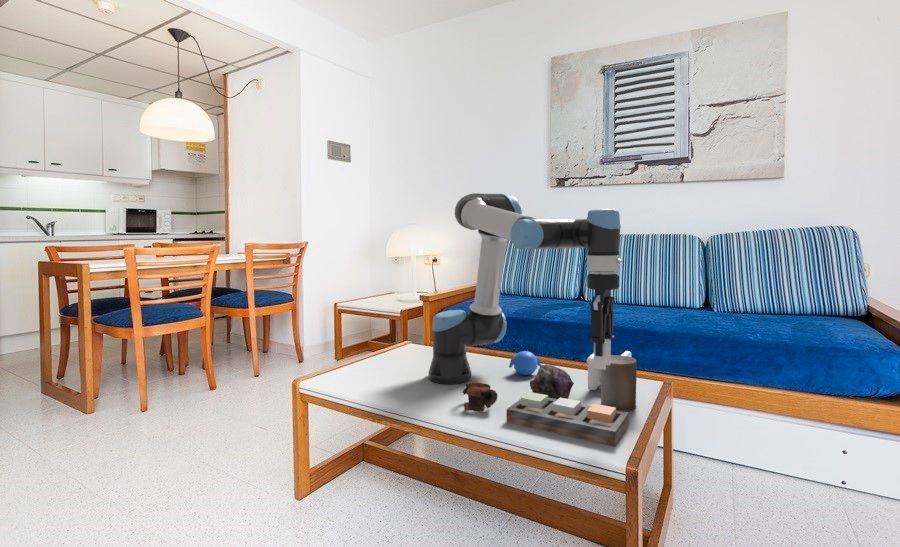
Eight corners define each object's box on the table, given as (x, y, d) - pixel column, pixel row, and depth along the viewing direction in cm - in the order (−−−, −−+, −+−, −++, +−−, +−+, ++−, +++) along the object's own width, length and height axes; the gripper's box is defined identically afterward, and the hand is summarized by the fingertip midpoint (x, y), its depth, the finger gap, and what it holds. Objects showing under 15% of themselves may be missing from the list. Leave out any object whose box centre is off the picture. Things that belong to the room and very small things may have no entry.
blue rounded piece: (535, 368, 174) (535, 345, 173) (545, 377, 162) (545, 353, 161) (503, 369, 172) (503, 347, 172) (511, 379, 160) (511, 355, 160)
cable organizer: (620, 398, 140) (621, 360, 139) (585, 392, 146) (586, 356, 145) (631, 385, 152) (632, 350, 151) (599, 379, 158) (599, 346, 157)
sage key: (520, 404, 125) (520, 397, 125) (529, 398, 130) (529, 391, 130) (540, 408, 122) (540, 401, 122) (548, 402, 127) (548, 395, 127)
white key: (552, 411, 120) (552, 403, 120) (560, 404, 125) (560, 397, 125) (573, 415, 117) (573, 407, 117) (580, 408, 122) (580, 401, 122)
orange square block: (587, 418, 115) (587, 410, 115) (593, 411, 120) (593, 403, 120) (610, 422, 112) (610, 414, 112) (616, 415, 117) (616, 407, 117)
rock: (559, 409, 135) (577, 399, 142) (562, 381, 133) (581, 372, 141) (525, 393, 144) (544, 384, 151) (528, 366, 142) (547, 359, 149)
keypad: (506, 421, 123) (506, 409, 123) (527, 405, 135) (527, 393, 135) (615, 446, 108) (615, 431, 108) (628, 425, 119) (628, 412, 119)
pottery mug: (454, 411, 133) (456, 382, 136) (474, 417, 139) (475, 389, 143) (488, 409, 126) (489, 379, 129) (507, 415, 132) (508, 386, 135)
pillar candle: (643, 406, 133) (643, 355, 132) (622, 414, 127) (623, 360, 126) (613, 397, 141) (614, 349, 139) (593, 404, 135) (593, 354, 134)
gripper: (609, 275, 104) (608, 377, 106) (626, 270, 118) (625, 360, 120) (577, 274, 108) (576, 372, 110) (597, 270, 122) (596, 357, 124)
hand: (602, 366), depth 115 cm, fingers open, 4 cm apart
